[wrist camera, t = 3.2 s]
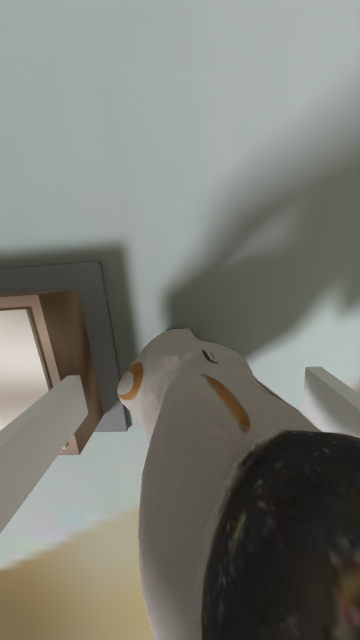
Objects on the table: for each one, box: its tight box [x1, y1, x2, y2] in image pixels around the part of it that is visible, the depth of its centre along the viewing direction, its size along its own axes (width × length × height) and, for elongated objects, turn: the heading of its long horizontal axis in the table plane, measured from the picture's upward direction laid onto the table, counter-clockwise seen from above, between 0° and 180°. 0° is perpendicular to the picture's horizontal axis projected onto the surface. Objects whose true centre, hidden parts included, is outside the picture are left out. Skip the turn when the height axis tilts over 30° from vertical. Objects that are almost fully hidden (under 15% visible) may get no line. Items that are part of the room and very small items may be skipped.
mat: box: [0, 261, 128, 432], centre depth 17 cm, size 16×16×1 cm
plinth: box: [0, 289, 104, 455], centre depth 14 cm, size 12×12×4 cm
